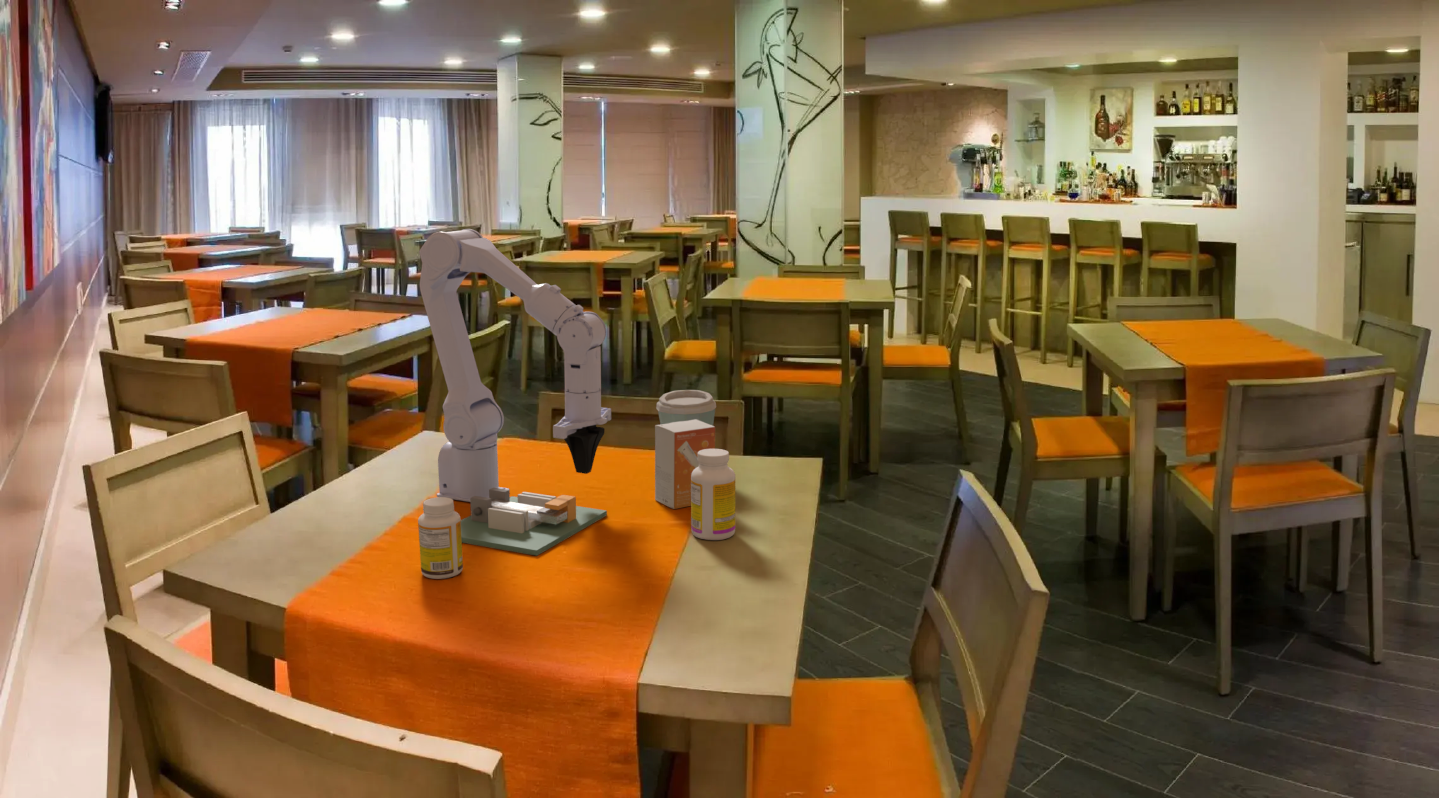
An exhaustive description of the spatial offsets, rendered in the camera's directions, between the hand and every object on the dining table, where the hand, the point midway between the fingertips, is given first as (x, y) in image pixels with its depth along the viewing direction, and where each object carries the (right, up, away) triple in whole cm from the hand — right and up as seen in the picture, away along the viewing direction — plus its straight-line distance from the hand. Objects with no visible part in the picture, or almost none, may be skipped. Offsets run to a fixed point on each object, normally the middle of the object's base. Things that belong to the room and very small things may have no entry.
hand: (583, 472), depth 175 cm
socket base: (-8, -8, -8) cm, 14 cm away
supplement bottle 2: (+21, -9, -11) cm, 25 cm away
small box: (+16, -5, +5) cm, 18 cm away
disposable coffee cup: (+16, -2, +19) cm, 25 cm away
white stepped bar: (-8, -6, -9) cm, 13 cm away
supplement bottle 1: (-16, -12, -27) cm, 34 cm away
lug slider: (-2, -7, -9) cm, 12 cm away
